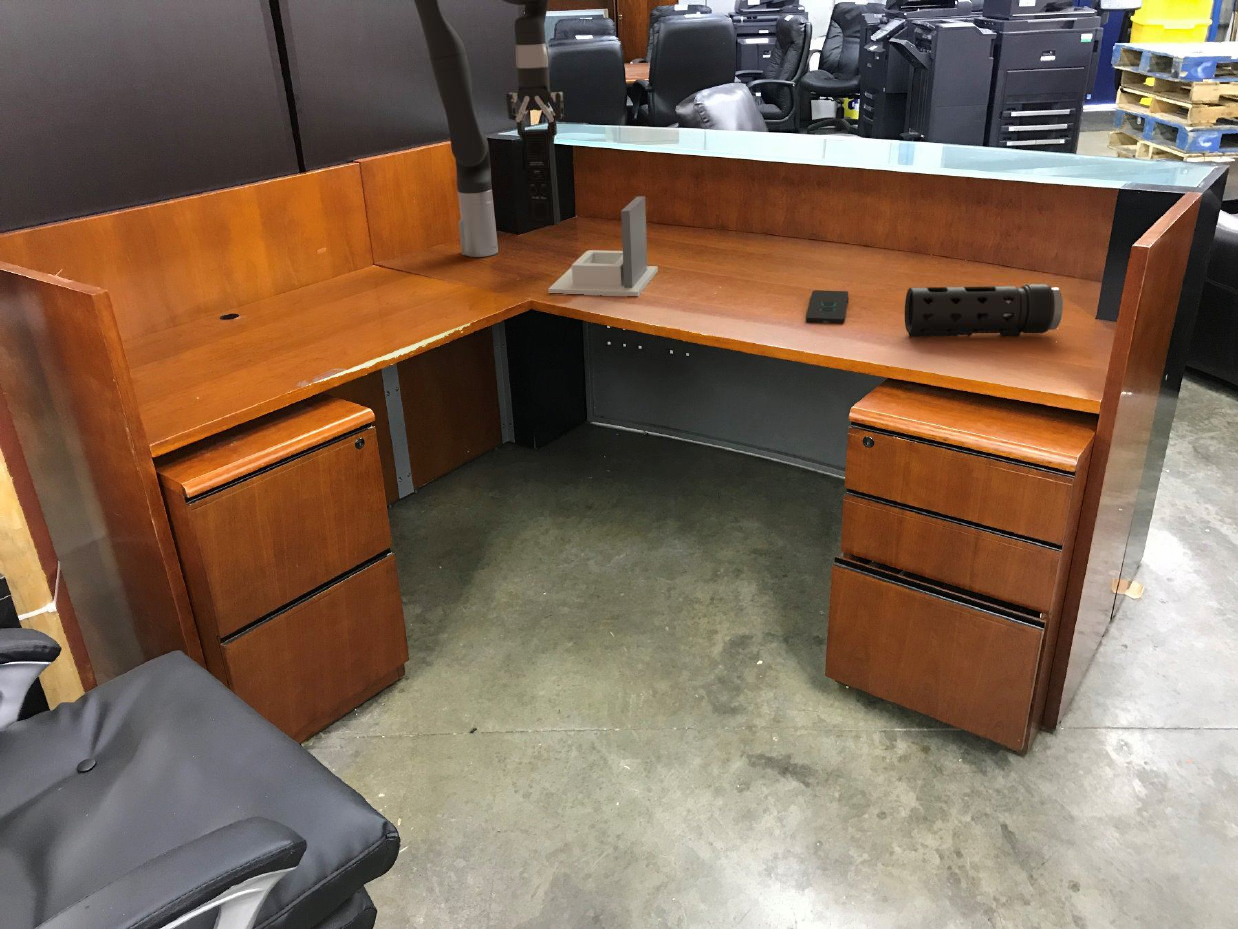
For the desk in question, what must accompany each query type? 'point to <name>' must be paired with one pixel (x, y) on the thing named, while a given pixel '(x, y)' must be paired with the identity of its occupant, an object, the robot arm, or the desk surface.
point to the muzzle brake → (982, 310)
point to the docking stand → (613, 262)
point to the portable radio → (540, 177)
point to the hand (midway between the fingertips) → (537, 137)
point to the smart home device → (827, 307)
